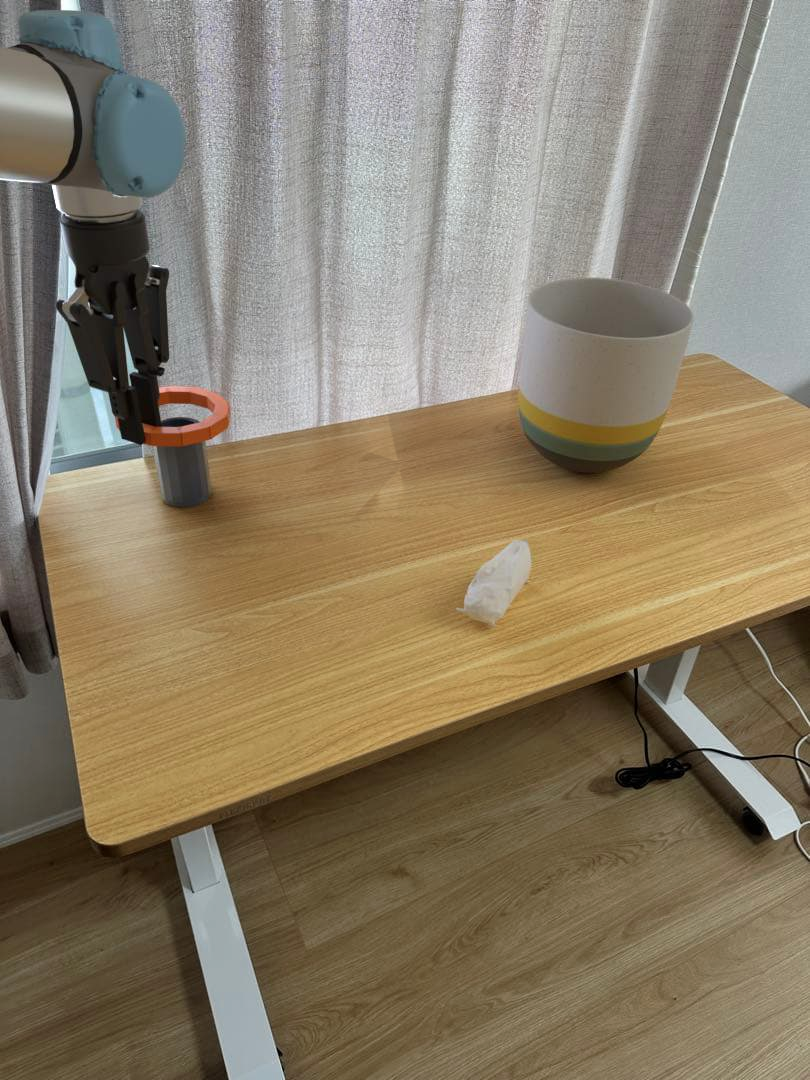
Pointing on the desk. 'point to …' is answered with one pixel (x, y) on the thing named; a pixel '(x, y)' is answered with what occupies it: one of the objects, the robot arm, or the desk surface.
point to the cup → (182, 469)
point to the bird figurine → (498, 583)
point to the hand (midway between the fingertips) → (142, 434)
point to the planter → (599, 369)
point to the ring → (193, 431)
